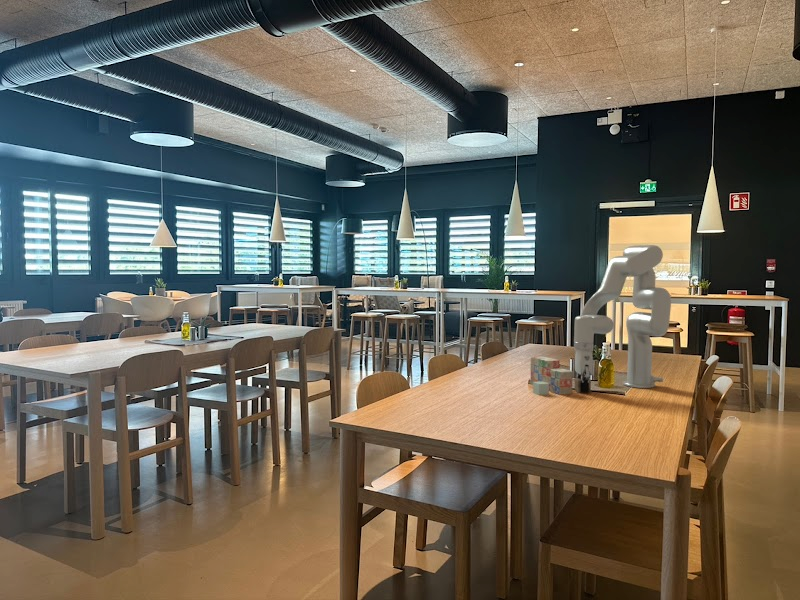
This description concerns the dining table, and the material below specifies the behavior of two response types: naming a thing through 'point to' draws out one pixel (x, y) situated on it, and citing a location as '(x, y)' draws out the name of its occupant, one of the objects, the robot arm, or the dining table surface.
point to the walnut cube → (577, 385)
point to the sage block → (541, 388)
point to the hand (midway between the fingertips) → (582, 390)
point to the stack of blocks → (551, 375)
